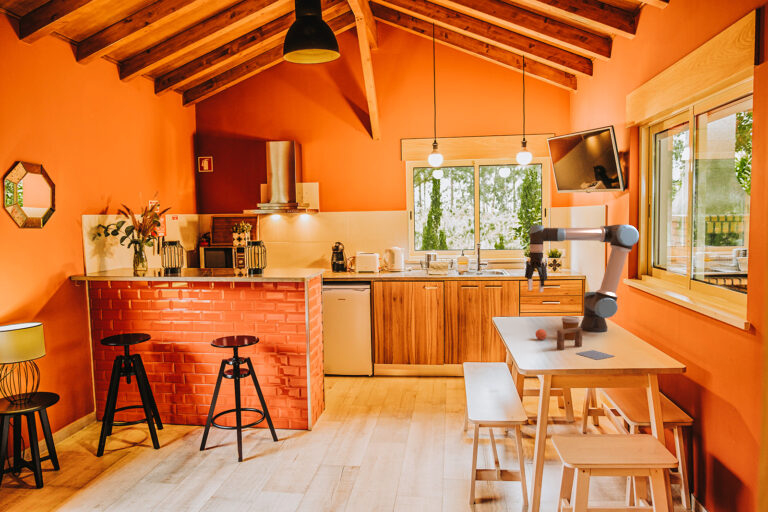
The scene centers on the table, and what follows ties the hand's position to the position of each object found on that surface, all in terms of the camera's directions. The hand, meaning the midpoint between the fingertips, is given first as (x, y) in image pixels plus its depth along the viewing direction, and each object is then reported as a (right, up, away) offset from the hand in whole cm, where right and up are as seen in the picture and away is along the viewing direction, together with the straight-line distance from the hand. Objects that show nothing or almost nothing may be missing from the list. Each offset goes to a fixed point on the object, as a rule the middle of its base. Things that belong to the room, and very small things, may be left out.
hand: (535, 291), depth 298 cm
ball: (-1, -23, -12) cm, 26 cm away
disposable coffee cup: (+16, -26, -10) cm, 32 cm away
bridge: (+9, -28, -29) cm, 41 cm away
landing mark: (+16, -29, -44) cm, 55 cm away
